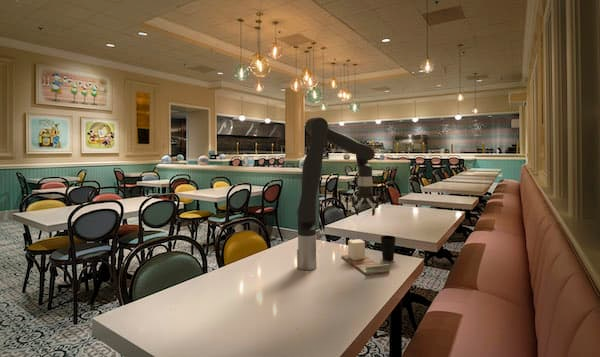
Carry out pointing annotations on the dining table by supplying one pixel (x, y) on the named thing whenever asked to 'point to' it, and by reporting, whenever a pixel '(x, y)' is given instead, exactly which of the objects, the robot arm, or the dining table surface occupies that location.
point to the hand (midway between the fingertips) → (365, 215)
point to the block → (356, 249)
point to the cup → (388, 247)
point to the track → (367, 266)
